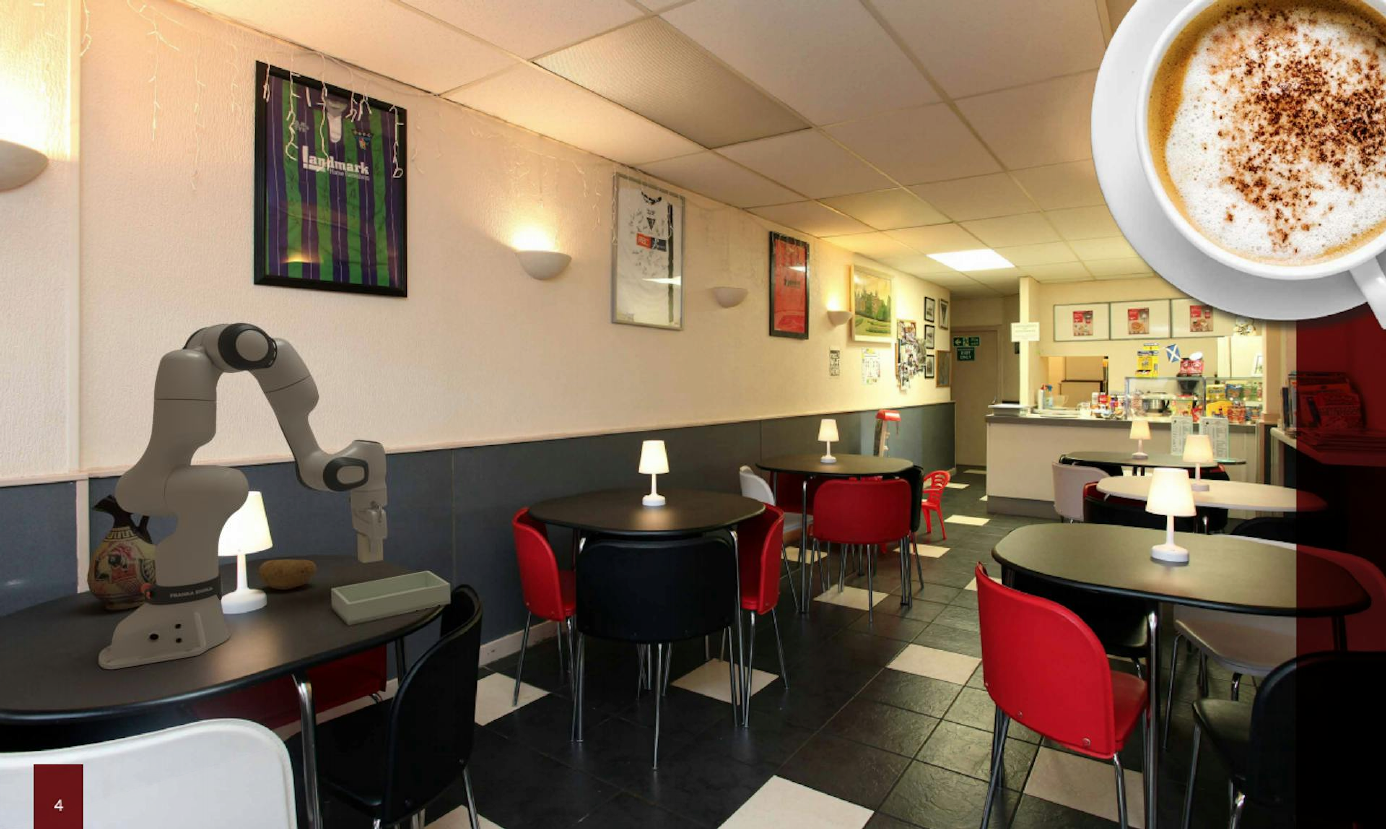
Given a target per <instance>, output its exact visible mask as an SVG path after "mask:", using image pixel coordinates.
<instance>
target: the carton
mask: <svg viewBox="0 0 1386 829" xmlns="http://www.w3.org/2000/svg"><path fill="white" fill-rule="evenodd" d="M356 535H357V560H358V561H359V562H361V563H362V564H367V563H368V564H369V563H374V562H380V561H384V548H383V547H384V546H383V544H384V543H383V542H384V541H383V540H384V539H381V540H379V544H378V552H377V553H375V554H371V553H370V552H369V546H370V538H369V537H367V536H366V535H364V534H362V533H361V532H359V533H357V534H356Z"/></svg>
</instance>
